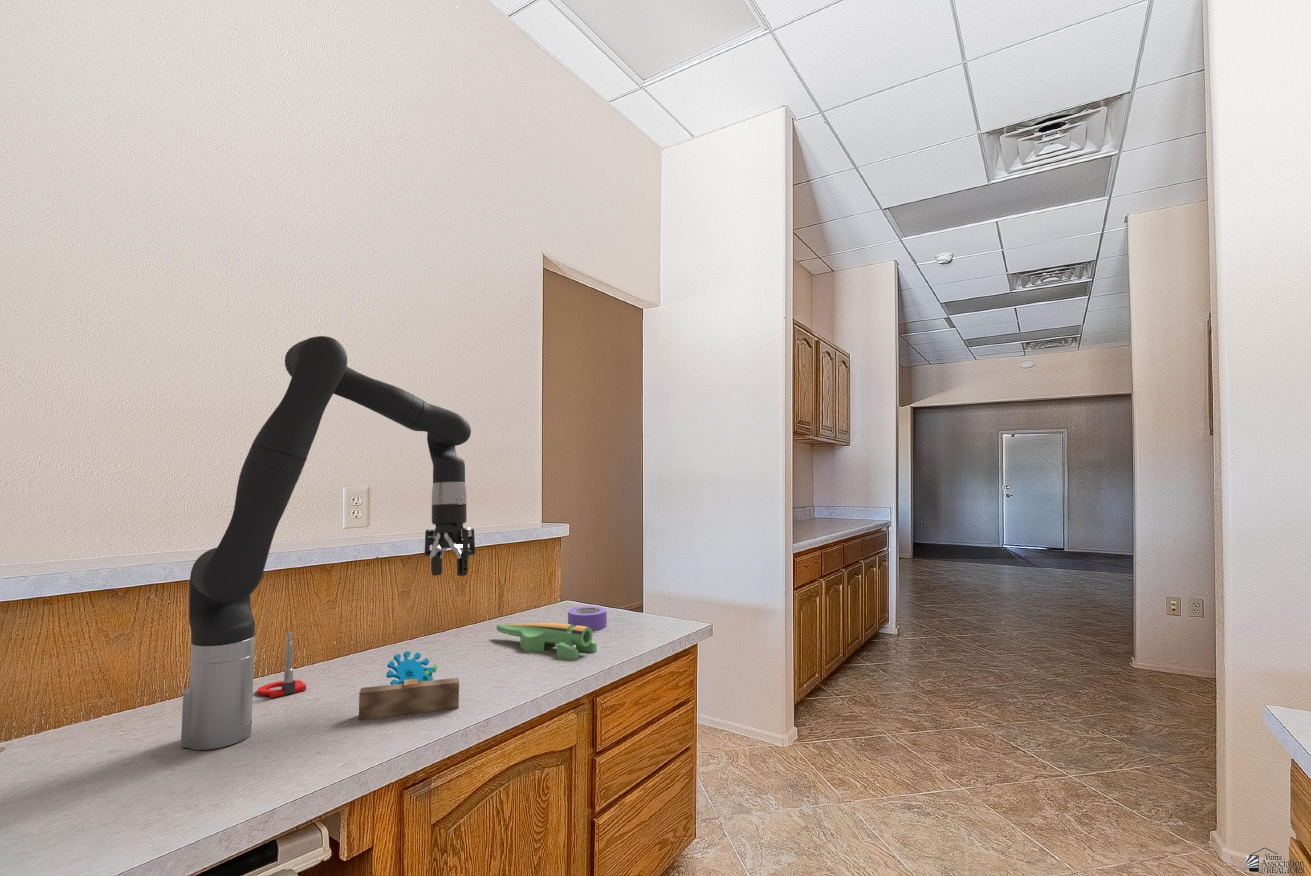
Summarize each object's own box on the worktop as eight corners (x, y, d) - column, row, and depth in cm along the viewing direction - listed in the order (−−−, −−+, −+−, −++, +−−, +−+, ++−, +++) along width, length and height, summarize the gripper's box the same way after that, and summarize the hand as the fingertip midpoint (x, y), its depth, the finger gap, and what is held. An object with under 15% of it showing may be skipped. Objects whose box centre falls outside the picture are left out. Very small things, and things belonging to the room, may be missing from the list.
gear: (391, 693, 126) (385, 650, 132) (381, 709, 129) (375, 666, 135) (443, 688, 133) (435, 647, 140) (432, 703, 136) (424, 662, 142)
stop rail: (358, 720, 116) (359, 689, 117) (360, 713, 120) (361, 684, 120) (458, 708, 122) (459, 679, 123) (458, 702, 126) (458, 674, 126)
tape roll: (582, 633, 180) (582, 616, 180) (560, 626, 189) (560, 609, 189) (614, 627, 188) (614, 610, 188) (591, 620, 196) (592, 604, 197)
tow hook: (251, 692, 132) (267, 700, 127) (253, 631, 134) (268, 636, 128) (294, 682, 139) (311, 690, 133) (295, 624, 140) (312, 628, 134)
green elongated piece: (482, 643, 170) (483, 616, 170) (510, 634, 179) (510, 609, 179) (573, 661, 153) (574, 631, 154) (599, 651, 162) (599, 622, 163)
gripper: (415, 504, 141) (414, 576, 139) (456, 501, 134) (457, 577, 132) (442, 504, 148) (442, 573, 145) (483, 501, 140) (484, 574, 138)
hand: (449, 575), depth 139 cm, fingers open, 8 cm apart
